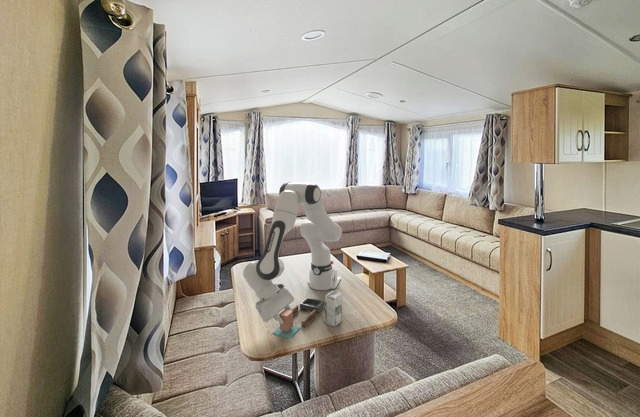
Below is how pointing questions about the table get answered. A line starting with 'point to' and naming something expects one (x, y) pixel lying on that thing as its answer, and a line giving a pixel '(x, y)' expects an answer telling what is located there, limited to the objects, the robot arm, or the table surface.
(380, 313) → the table surface
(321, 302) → the tray
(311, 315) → the parallel wooden rails
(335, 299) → the syrup box
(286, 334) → the mat
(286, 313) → the block
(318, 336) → the table surface
